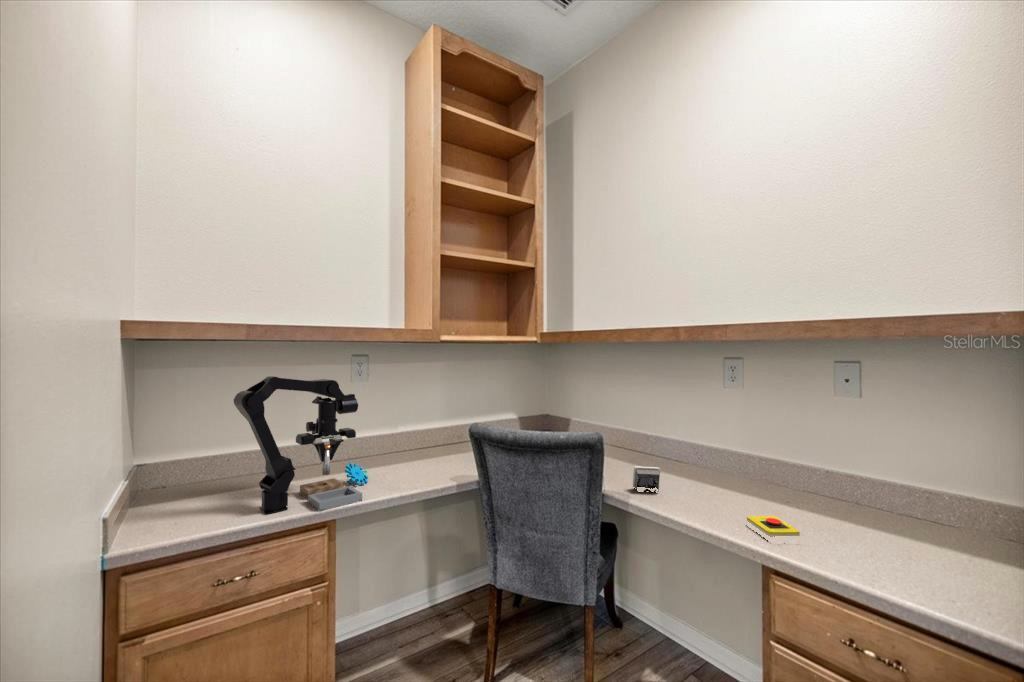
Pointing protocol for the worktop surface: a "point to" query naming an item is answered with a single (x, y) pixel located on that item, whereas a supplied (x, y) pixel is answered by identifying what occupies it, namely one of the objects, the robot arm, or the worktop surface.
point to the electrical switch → (646, 477)
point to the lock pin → (326, 459)
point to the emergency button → (772, 526)
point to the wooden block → (320, 487)
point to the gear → (356, 474)
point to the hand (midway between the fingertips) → (326, 460)
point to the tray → (334, 498)
